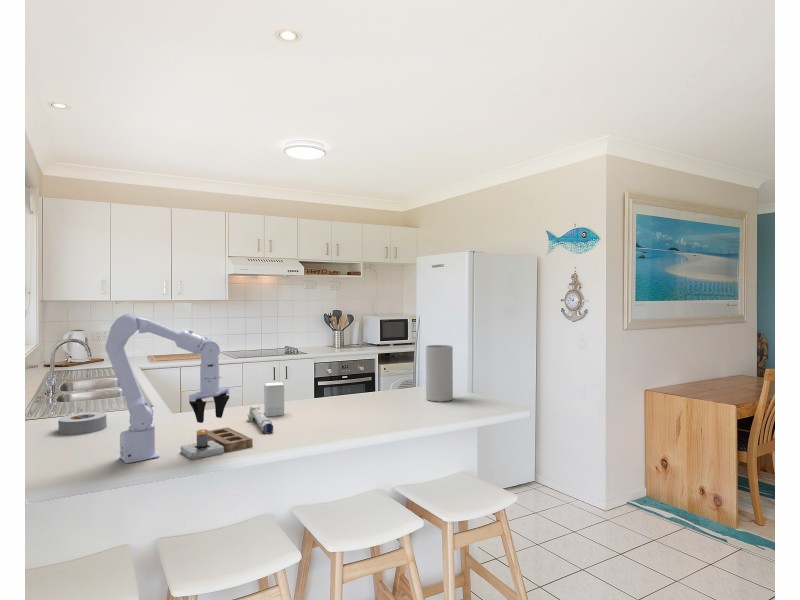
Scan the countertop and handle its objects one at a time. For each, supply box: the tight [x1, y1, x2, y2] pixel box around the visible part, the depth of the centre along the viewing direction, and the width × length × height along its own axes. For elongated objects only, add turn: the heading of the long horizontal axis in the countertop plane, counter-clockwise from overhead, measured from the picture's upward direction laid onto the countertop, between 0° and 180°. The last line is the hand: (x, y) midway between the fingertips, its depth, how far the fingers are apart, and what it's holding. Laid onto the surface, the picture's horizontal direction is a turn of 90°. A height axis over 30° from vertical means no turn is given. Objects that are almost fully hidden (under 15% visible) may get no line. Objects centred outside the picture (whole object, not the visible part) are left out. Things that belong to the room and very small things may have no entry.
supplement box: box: [263, 381, 285, 417], centre depth 220 cm, size 7×7×13 cm
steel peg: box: [196, 428, 208, 449], centre depth 167 cm, size 3×3×7 cm
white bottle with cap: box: [247, 404, 274, 434], centre depth 201 cm, size 5×7×25 cm
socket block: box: [180, 440, 225, 461], centre depth 167 cm, size 10×10×2 cm
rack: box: [207, 426, 254, 453], centre depth 178 cm, size 9×20×2 cm, turn 41°
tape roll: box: [57, 411, 108, 436], centre depth 197 cm, size 15×15×5 cm
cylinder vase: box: [425, 344, 454, 403], centre depth 248 cm, size 12×12×25 cm
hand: (209, 419), depth 171 cm, fingers open, 7 cm apart
